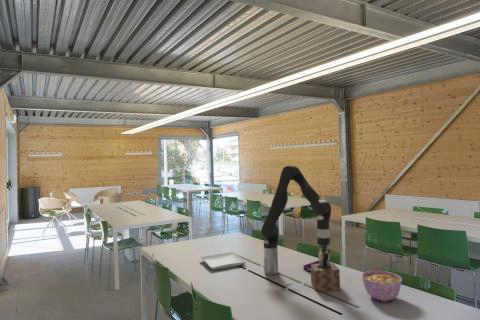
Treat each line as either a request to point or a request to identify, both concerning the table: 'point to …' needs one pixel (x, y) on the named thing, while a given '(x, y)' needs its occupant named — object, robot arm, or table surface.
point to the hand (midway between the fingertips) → (324, 264)
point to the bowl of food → (382, 284)
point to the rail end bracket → (322, 261)
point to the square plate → (223, 260)
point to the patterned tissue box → (325, 278)
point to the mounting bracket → (310, 264)
